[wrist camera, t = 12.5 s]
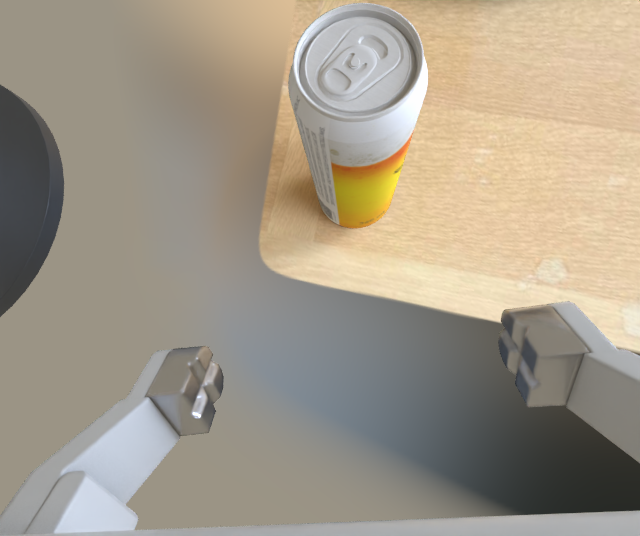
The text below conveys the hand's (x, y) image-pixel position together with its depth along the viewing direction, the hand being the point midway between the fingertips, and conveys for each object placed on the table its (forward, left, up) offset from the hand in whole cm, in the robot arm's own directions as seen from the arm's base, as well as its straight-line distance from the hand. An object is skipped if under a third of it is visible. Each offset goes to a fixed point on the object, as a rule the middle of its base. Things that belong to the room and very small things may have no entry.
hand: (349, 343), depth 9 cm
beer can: (-2, +11, -18) cm, 21 cm away
